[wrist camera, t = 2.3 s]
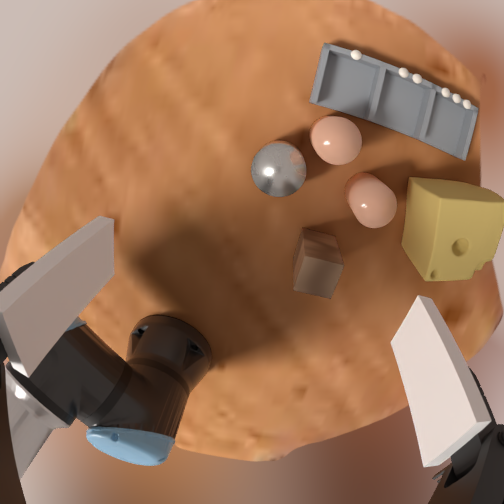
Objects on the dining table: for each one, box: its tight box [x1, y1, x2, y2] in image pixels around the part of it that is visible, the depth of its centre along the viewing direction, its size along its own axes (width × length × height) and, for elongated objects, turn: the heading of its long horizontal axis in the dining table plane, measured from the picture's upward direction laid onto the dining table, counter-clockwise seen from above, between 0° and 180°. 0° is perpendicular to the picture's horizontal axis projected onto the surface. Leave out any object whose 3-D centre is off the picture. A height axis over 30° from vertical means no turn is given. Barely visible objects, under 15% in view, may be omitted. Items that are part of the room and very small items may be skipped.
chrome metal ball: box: [251, 140, 306, 197], centre depth 34 cm, size 6×6×4 cm
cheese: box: [401, 177, 504, 281], centre depth 31 cm, size 10×11×10 cm
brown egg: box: [345, 173, 397, 228], centre depth 33 cm, size 5×5×6 cm
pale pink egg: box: [309, 116, 362, 165], centre depth 31 cm, size 5×5×6 cm
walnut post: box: [293, 228, 344, 299], centre depth 36 cm, size 4×4×8 cm
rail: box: [309, 43, 479, 161], centre depth 29 cm, size 21×8×3 cm, turn 78°
